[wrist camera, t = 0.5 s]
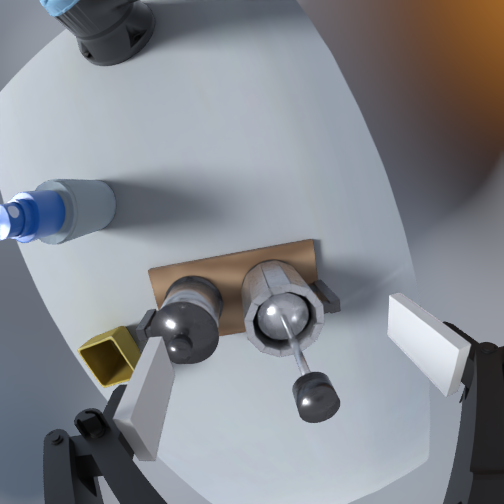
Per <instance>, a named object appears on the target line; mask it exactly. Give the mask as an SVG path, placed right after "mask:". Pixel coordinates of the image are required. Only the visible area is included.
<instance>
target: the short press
mask: <svg viewBox="0 0 504 504" xmlns="http://www.w3.org/2000/svg"><path fill="white" fill-rule="evenodd" d="M222 311H223V299H222V295H221V293H220V291H219V289H218V288H217V287H216V285H215V284H214V283H212V282H211V281H210V280H208V279H206V278H204V277H201V276H196V275H189V276H184V277H181V278H179V279H177V280H176V281H174V282H173V283H172V284H171V286H170V287H169V288H168V290H167V292H166V295H165V299H164V303H163V305H162V307H161V308H160V310H159V311H156V309H152V310H148V311H147V313H146V314H145V316H144V317H143V319H142V320H141V322H140V323H139V325H138V327H137V328H136V330H135V331H136V334H137V337H138V340H139V341H143V340H148V338H149V337H160V336H162V337H163V341H164V344H165V347H166V350H167V353H168V356H169V359H170V360H171V361H172V362H174V363H177V364H194V363H198V362H201V361H203V360H205V359H207V358H208V357H210V356H211V355H212V354H213V352H214V351H215V349H216V347H217V345H218V341H219V330H218V324H219V319H220V317H221V315H222Z"/></svg>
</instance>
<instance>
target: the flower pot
mask: <svg viewBox="0 0 504 504" xmlns="http://www.w3.org/2000/svg"><path fill="white" fill-rule="evenodd" d="M115 344H116V345H115ZM78 353H79V354H80V356H81V358H82V359H83V360H84V362H85V363H86V365H87V366H88V368H89V369H90V370H91V372H92V373H93V375H94V376H95V378H96V379H97V381H98V382H99V383H100V384H101V386H102V387H104V388H106V387H110V386H112V385H116V384H119V383H122V382H126V381H130V378H131V376H132V374H133V372H134V370H135V367H136V365H137V363H138V361H139V359H140V357H141V353H140V350H139V348H138V346H137V344H136V343H135V341H134V340H133V338H132V336H131V335H130V333H129V331H128V330H127V328H126V327H125V326H120V327H117V328H115V329H113V330H110V331H108V332H105V333H103V334H100V335H97V336H95V337H93V338H91V339H90V340H88V341H87V342H86V343H85V344H84V345H82V346H81V347H80V348H79V349H78Z"/></svg>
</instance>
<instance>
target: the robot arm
mask: <svg viewBox="0 0 504 504" xmlns="http://www.w3.org/2000/svg"><path fill="white" fill-rule="evenodd" d="M40 2H41V4H42V5H43V7H44V8H45V9H46V10H47V11H48V13H49V15H51V16H53V17H54V18H56V19H57V20H58V21H59V22H60V23H61V24H63V25H64V26H65V27H66V28H67V29H68V30H69V31H70V32H72V33H73V34H74V35H75V36H76V38H77V42H78V45H79V49H80V52H81V53H82V55H83V56H84V57H85V58H86V59H87V60H88V61H89V62H91V63H93V64H95V65H99V66H109V65H114V64H117V63H120V62H123V61H125V60H127V59H129V58H130V57H132V56H133V55H135V54H136V53H137V52H139V51H140V50H141V49H142V48H143V47H144V46H145V45H146V43H147V42H148V41H149V39H150V37H151V36H152V33H153V31H154V27H155V20H154V16H153V14H152V12H151V10H150V8H149V7H148V6H147V5H146V4H144V3H143V2H141V1H139V0H40ZM387 335H388V336H389V337H390V338H391V339H392V340H393V341H394V342H395V343H396V344H397V345H398V346H399V348H400V349H401V350H402V351H403V352H404V353H405V354H406V355H407V356H408V357H409V358H410V359H411V360H412V361H413V362H414V363H415V364H416V365H417V366H418V367H419V369H420V370H421V371H422V372H423V373H424V374H425V375H426V376H427V377H428V378H429V379H430V380H431V381H432V382H433V383H434V385H435V386H436V387H437V388H438V389H439V390H440V391H441V392H442V393H443V394H444V395H445V397H448V396H450V395H452V394H454V393H456V392H457V391H458V389H459V386H460V383H461V382H462V383H463V384H464V385H465V388H464V391H463V394H462V396H461V399H460V403H461V402H462V412H461V421H460V429H459V436H458V442H457V448H456V453H455V458H454V463H453V468H452V472H451V476H450V480H449V485H448V488H447V492H446V496H445V499H444V502H443V504H504V346H503V347H498V346H496V345H495V344H493V343H490V342H483V343H480V344H479V343H478V342H476V341H475V340H474V339H472V338H471V337H470V336H468V335H467V334H466V333H464V332H463V331H461V330H459V328H457V327H456V326H454V325H453V324H451V323H448V322H441V321H439V320H438V319H437V318H435V317H434V316H432V315H431V314H430V313H428V312H427V311H425V310H424V309H423V308H421V307H420V306H419V305H417V304H416V303H414V302H413V301H412V300H410V299H409V298H407V297H406V296H404V295H403V294H402V293H400V292H399V293H396V294H392V295H389V318H388V334H387ZM174 378H175V373H174V370H173V368H172V365H171V362H170V359H169V356H168V353H167V350H166V347H165V344H164V341H163V337H162V336H160V337H150V338H149V340H148V342H147V344H146V346H145V348H144V350H143V352H142V354H141V357H140V359H139V361H138V363H137V365H136V367H135V370H134V372H133V374H132V376H131V378H130V381H129V383H128V385H119V386H118V387H117V388H116V389H115V390H114V391H113V393H112V395H111V397H110V399H109V401H108V405H106V408H105V410H104V412H103V414H102V412H100V411H99V410H98V409H94V408H92V409H86V410H84V411H82V412H80V413H79V414H78V415H77V416H76V418H75V420H74V423H75V426H76V427H77V429H78V430H79V432H80V433H81V435H79V436H73V437H70V436H69V435H68V433H67V432H66V431H64V430H61V429H56V430H53V431H51V432H50V433H49V434H47V435H46V437H45V440H44V455H43V469H44V470H43V471H44V497H45V504H104V503H103V499H102V495H101V491H100V486H99V482H98V477H97V476H104V478H105V480H106V481H107V483H108V485H109V486H110V488H111V490H112V491H113V493H114V495H115V496H116V498H117V499H118V501H119V502H120V504H167V503H166V502H165V500H164V499H163V498H162V497H161V496H160V495H159V494H158V492H157V491H156V490H155V489H154V487H153V486H152V485H151V484H150V483H149V481H148V480H147V479H146V478H145V476H144V475H143V474H142V472H141V471H140V470H139V468H138V467H137V466H136V464H135V463H134V462H133V460H132V459H133V456H134V454H135V455H136V456H137V458H138V459H139V460H140V461H155V460H156V456H157V451H158V447H159V442H160V438H161V433H162V429H163V424H164V420H165V416H166V411H167V407H168V403H169V399H170V395H171V391H172V386H173V382H174ZM462 400H463V401H462Z"/></svg>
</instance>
